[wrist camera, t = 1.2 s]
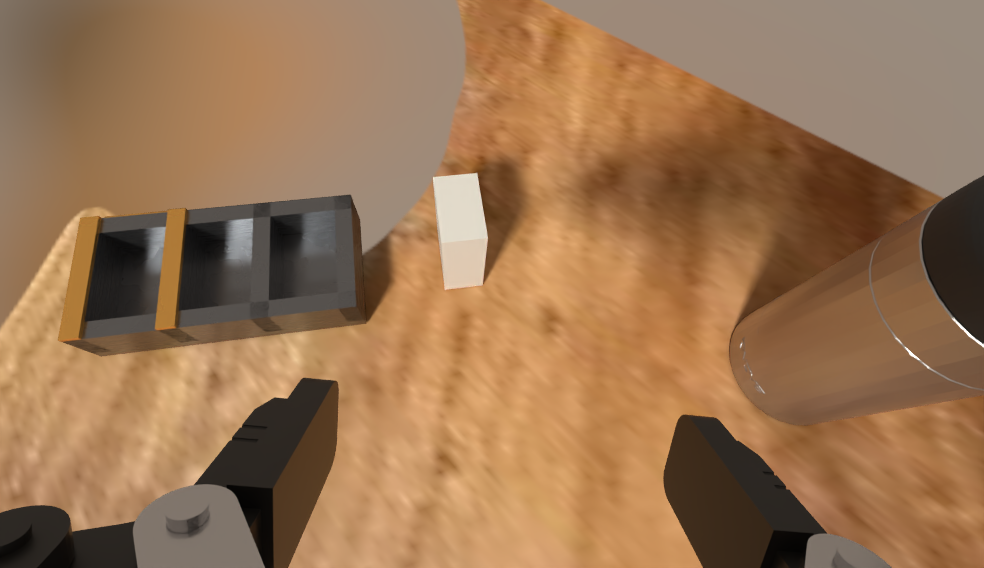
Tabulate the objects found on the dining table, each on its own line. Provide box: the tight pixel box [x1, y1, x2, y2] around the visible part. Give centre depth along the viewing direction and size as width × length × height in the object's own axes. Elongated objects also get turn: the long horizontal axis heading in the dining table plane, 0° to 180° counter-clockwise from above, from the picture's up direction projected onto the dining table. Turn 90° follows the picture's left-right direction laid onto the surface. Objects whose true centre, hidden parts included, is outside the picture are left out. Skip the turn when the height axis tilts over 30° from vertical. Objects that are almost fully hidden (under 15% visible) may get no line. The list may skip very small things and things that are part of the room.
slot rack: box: [58, 195, 366, 356], centre depth 36 cm, size 19×9×4 cm, turn 99°
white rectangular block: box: [433, 173, 488, 290], centre depth 36 cm, size 3×5×8 cm, turn 9°
